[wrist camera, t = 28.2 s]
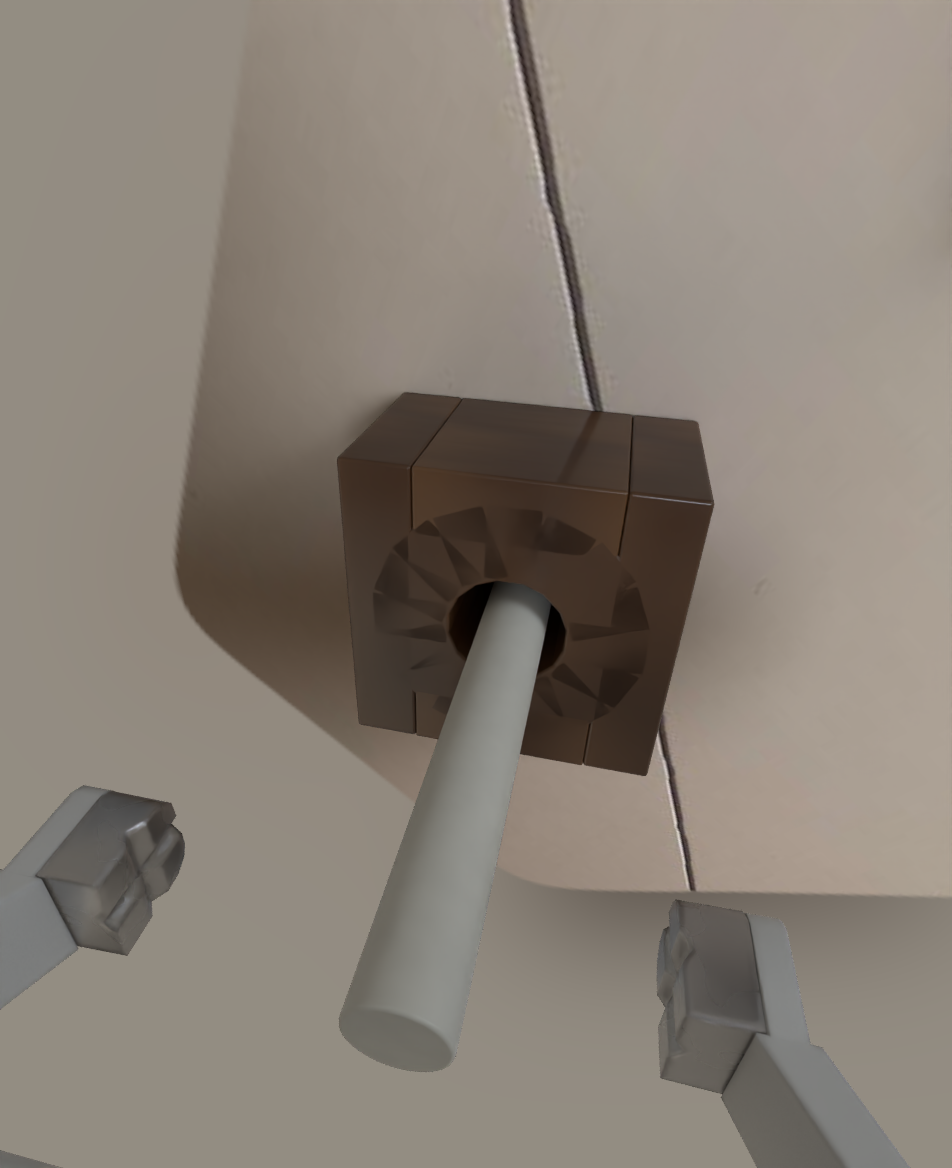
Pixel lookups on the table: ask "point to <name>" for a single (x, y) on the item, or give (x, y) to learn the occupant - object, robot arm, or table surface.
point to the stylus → (449, 851)
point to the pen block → (524, 562)
